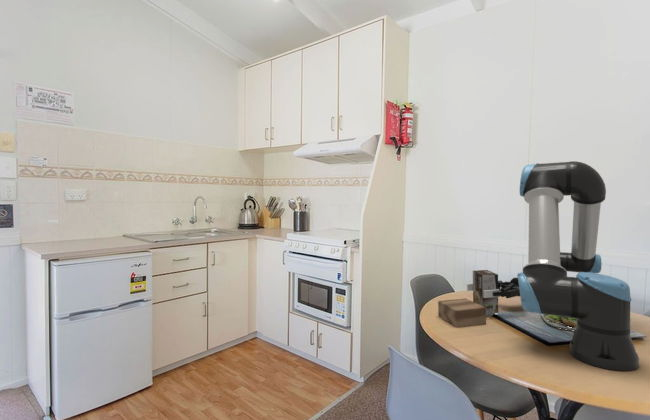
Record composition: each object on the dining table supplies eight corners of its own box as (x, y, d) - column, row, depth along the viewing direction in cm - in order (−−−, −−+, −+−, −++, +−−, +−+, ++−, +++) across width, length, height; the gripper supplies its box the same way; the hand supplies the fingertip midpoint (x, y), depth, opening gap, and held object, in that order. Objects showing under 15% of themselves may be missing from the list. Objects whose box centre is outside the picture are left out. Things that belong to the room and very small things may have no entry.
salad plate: (614, 340, 109) (614, 325, 109) (548, 332, 116) (548, 319, 116) (593, 319, 127) (593, 307, 127) (538, 314, 134) (537, 302, 134)
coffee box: (499, 316, 132) (498, 274, 132) (482, 316, 132) (481, 274, 132) (488, 308, 141) (488, 269, 141) (472, 308, 141) (472, 269, 141)
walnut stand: (486, 324, 124) (485, 307, 124) (456, 327, 122) (456, 310, 122) (466, 313, 136) (465, 298, 136) (438, 316, 134) (438, 300, 134)
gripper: (547, 303, 129) (495, 308, 125) (504, 288, 151) (459, 292, 147) (547, 283, 129) (494, 288, 125) (504, 271, 151) (458, 275, 146)
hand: (475, 290), depth 136 cm, fingers closed on coffee box, 10 cm apart
